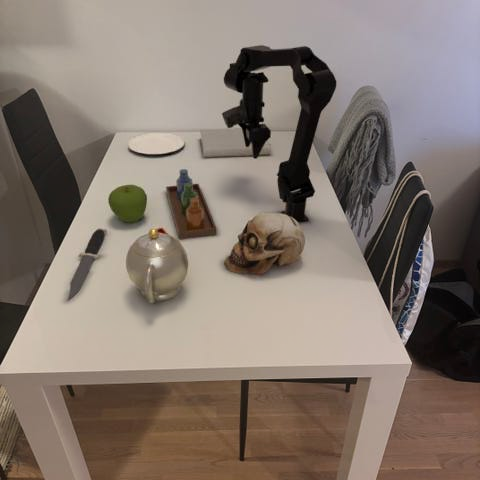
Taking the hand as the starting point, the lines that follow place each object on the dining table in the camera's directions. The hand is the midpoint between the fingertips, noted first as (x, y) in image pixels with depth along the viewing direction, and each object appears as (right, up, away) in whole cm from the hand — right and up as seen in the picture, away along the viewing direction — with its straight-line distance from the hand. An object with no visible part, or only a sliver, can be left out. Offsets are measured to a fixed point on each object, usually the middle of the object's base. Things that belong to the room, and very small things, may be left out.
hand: (251, 152), depth 143 cm
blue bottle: (-20, -13, +2) cm, 24 cm away
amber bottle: (-16, -25, -12) cm, 32 cm away
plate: (-34, +14, +34) cm, 50 cm away
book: (-5, +14, +34) cm, 37 cm away
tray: (-18, -19, -4) cm, 26 cm away
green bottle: (-18, -19, -5) cm, 27 cm away
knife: (-42, -37, -24) cm, 60 cm away
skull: (+3, -36, -23) cm, 42 cm away
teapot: (-22, -45, -34) cm, 60 cm away
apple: (-34, -22, -7) cm, 41 cm away
